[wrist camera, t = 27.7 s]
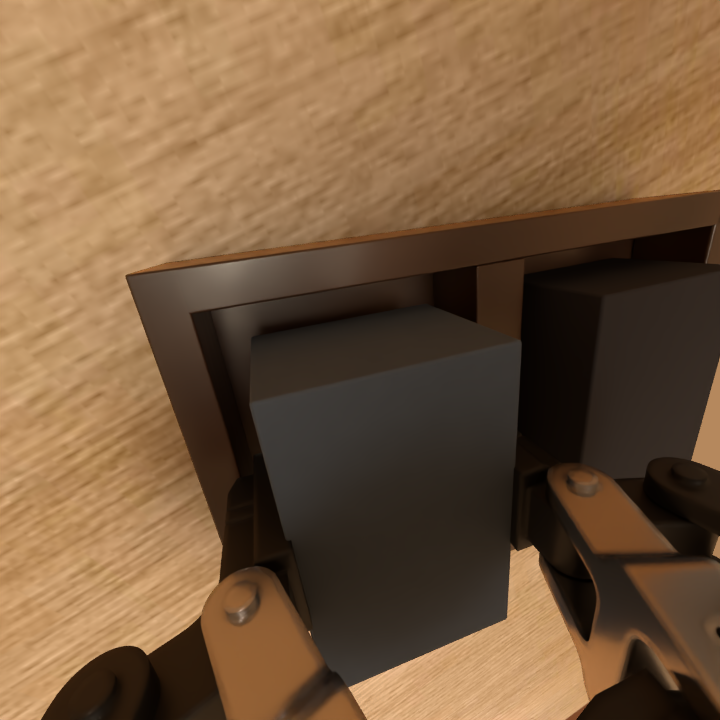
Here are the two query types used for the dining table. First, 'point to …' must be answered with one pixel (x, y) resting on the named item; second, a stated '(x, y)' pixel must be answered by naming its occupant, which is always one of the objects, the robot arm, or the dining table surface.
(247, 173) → the dining table surface
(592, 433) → the dark brown rectangular block
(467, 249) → the divided wooden tray
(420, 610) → the pad
